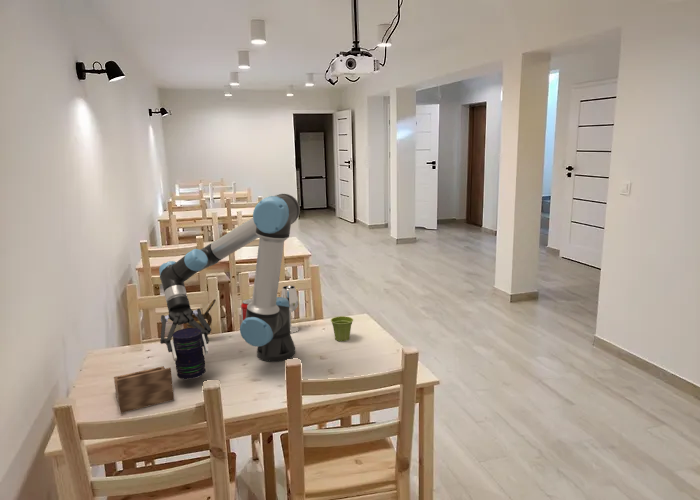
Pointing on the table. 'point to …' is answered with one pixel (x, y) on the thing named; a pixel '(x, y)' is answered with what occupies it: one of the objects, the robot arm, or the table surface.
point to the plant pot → (342, 327)
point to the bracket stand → (144, 388)
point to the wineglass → (291, 301)
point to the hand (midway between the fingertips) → (191, 355)
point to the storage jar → (189, 353)
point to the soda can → (244, 308)
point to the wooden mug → (205, 315)
